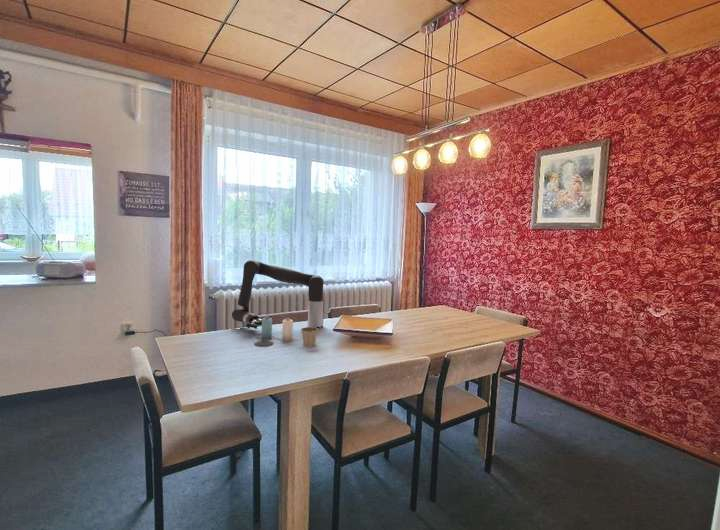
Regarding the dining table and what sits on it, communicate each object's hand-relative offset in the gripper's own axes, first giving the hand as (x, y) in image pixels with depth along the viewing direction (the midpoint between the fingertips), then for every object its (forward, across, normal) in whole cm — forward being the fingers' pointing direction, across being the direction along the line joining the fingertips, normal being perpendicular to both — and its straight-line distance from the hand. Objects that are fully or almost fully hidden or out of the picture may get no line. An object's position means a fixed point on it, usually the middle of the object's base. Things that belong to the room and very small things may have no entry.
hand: (263, 325), depth 200 cm
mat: (+13, -6, +6) cm, 16 cm away
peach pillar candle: (+13, +8, +6) cm, 16 cm away
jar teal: (+4, 0, +6) cm, 7 cm away
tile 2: (+13, +8, +6) cm, 17 cm away
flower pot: (+26, +14, +7) cm, 30 cm away
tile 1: (+4, 0, +6) cm, 8 cm away
